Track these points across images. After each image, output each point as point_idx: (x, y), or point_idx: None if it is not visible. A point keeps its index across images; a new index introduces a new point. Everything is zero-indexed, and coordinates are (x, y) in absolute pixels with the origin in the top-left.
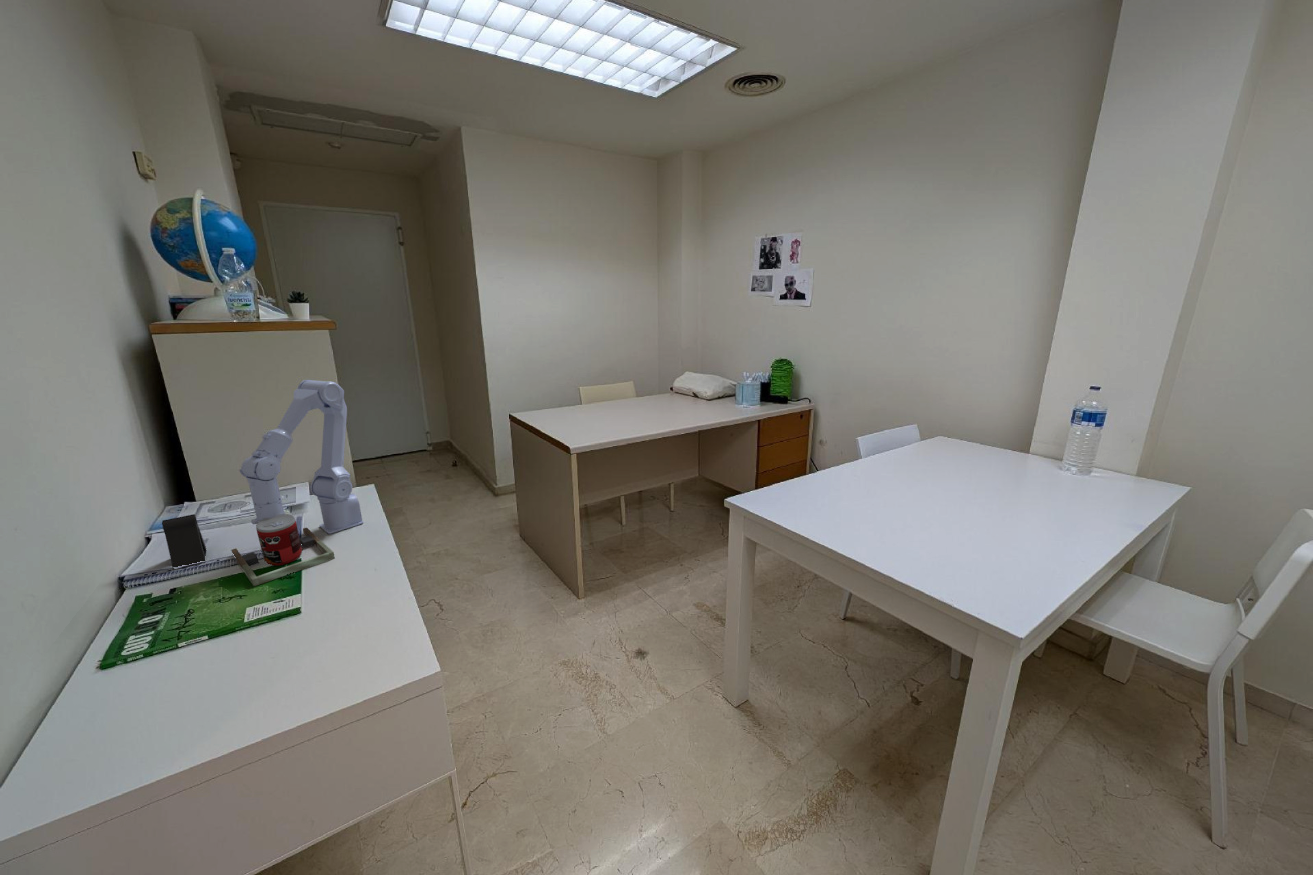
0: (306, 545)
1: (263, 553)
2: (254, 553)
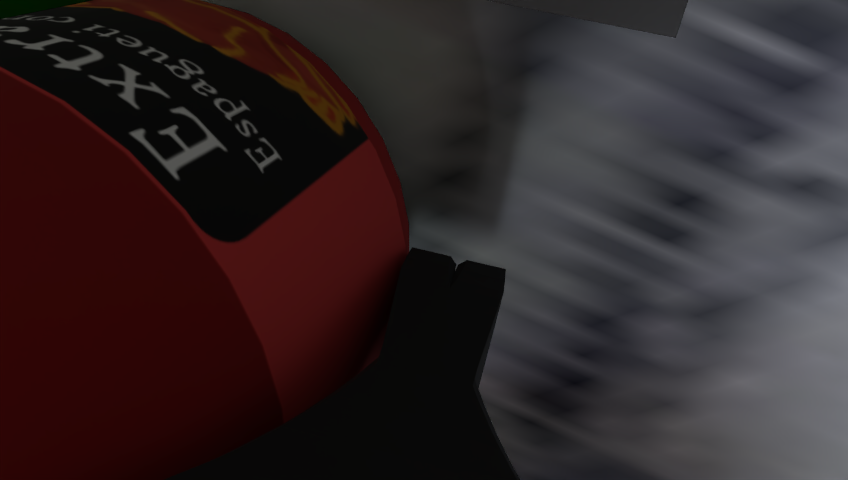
0: None
1: (16, 22)
2: (585, 15)
